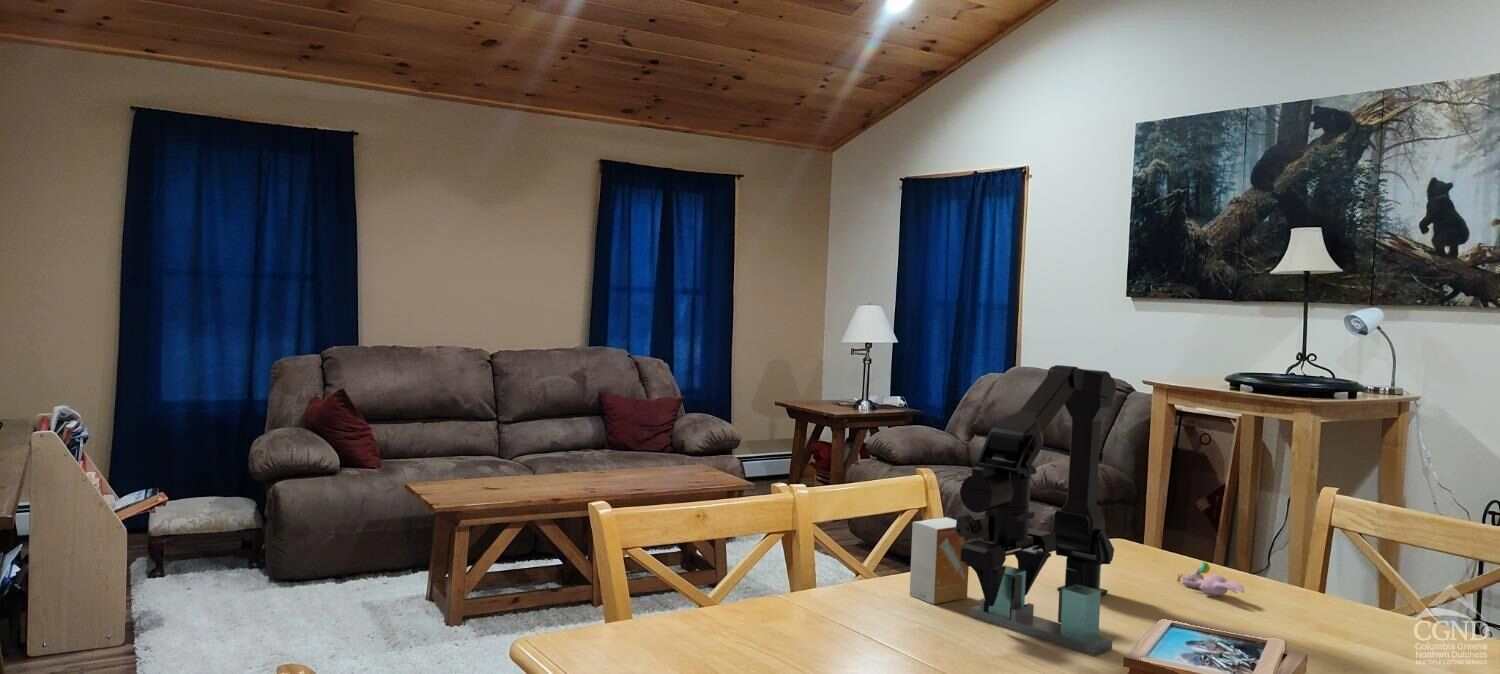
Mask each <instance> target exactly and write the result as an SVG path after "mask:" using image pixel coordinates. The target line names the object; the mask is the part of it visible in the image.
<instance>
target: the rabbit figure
mask: <svg viewBox="0 0 1500 674" xmlns="http://www.w3.org/2000/svg"><path fill="white" fill-rule="evenodd" d="M1201 563H1202V566H1201V567H1199V568H1198V569H1197V570H1196V571H1195V572H1191V573H1189V572H1188V573H1187V575H1185V574H1182V573H1181V574H1180V575H1179V573H1177V579H1176V583H1177V582H1178V583H1179V582H1182V585H1183V586H1185V588H1192V589H1199V590H1201V591H1202V592H1203V593H1204V594H1207V595H1208V596H1209V597H1217V596H1222V595H1226V593H1228V591H1231V592H1233V593H1235V594H1237V593H1238V591H1239V592H1241V593H1245V587H1244V586H1243V585H1242V584H1241V583H1238V582H1235V581H1229V580H1228V579H1227V578H1225V577H1224V576H1222V575H1219V574H1215V573H1214V574H1210V575H1207V576H1206V577H1204V575H1203V574H1207V573H1209V571H1210V568H1211V567H1210V564H1209V563H1208V562H1206V561H1202V562H1201Z"/></svg>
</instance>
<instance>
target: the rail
mask: <svg viewBox="0 0 1500 674" xmlns="http://www.w3.org/2000/svg"><path fill="white" fill-rule="evenodd" d="M1100 594H1101V590H1097V589H1093V588H1089V587H1085V586H1082V585H1078V584H1076V585H1073V586H1070V587H1066V588H1063V589H1060V590H1059V591H1058V610H1057V611H1058V612H1057V613H1058V614H1057V622H1056V621H1053V620H1050V619H1047V618H1043V617H1040V616H1036V615H1034V607H1035V606H1034V605H1035V604H1033V603H1030V602H1029V603H1026V604H1025V605H1022V606H1019V607H1016V608H1013V609H1012V610H1011V618H1010V619H1009V618H1006V617H1003V616H1000V615H996V614H993V613H990V612H989V606H988V605H987V604H986V601H985V598H980V599H979V604H978V605H976V606H972V607H971V608H970V617H971V618H972V619H975V620H978V621H982V622H985V623H988V624H991V625H994V626H998V627H1001V628H1003V629H1007V630H1010V631H1013V632H1017V633H1019V634H1021V635H1025V636H1029V637H1032V638H1036V639H1039V640H1042V641H1044V642H1047V643H1051V644H1054V645H1058V646H1061V647H1064V648H1067V649H1070V650H1073V651H1076V652H1080V653H1083V654H1087V655H1089V656H1092V657H1096V656H1099V655H1101V654H1103V653H1104V654H1105V653H1106V652H1108V651H1111V650H1113V638H1110V637H1106V636H1104V635H1103V636H1102V635H1099V633H1100V612H1101V610H1100V609H1101V596H1100Z"/></svg>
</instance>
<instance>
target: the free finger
mask: <svg viewBox="0 0 1500 674" xmlns="http://www.w3.org/2000/svg"><path fill="white" fill-rule="evenodd" d="M1003 566H1004V567H1006V569H1005V572H1004V575H1003V579H1002V582H1001V585H1000V588H999V592H998V595H997V598H996V601H995V603H994V606H989V612H990V613H993V614H996V615H1000V616H1003V617H1006V618H1009V619H1010V618H1011V610H1012V609H1013V608H1016V607H1019V606H1022V605H1025V603H1026V601H1025V600H1026V595H1025V582H1026V571H1025V570H1021V569H1018V567H1013V566H1010V565H1006V564H1003Z"/></svg>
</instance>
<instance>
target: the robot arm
mask: <svg viewBox="0 0 1500 674" xmlns="http://www.w3.org/2000/svg"><path fill="white" fill-rule="evenodd" d="M1116 390H1117V384H1116V380H1115V379H1114V378H1112V376H1111V374H1110V372H1109V371H1106V370H1096V369H1085V368H1079V367H1078V366H1072V365H1071V366H1070V365H1061V364H1060V365H1059V364H1057V365H1054V366H1050V367H1049V368H1048V371H1047V376H1046V377H1045V379H1043V381H1042V382H1041V384H1040V385H1039V386H1038V387H1037V389H1036V390H1035V391H1034V392H1033V393H1032V394H1031V396H1030V397H1029V398H1028V399H1027V401H1026V402H1025V403H1024V404H1023V405H1022V407H1021V408H1020V409H1019V410H1018V411H1017V412H1016V413H1014V414H1013V413H1012V414H1010V415H1008V416H1005V417H1003V418H1002V419H1001V420H1000V421H999V422H997V423H996V424H995V425H994V426H993V427H992V428H991V430H990V432H989V433H988V435H987V437H986V439H985V442H984V444H983V447H982V449H981V450H980V453H979V456H978V459H977V461H976V463H975V467H972V469H971V475H970V476H968V477H966V478H965V479H964V480H963V482H962V484H961V486H960V489H959V497H960V500H961V502H962V504H963V506H965V508H966V509H968V510H969V511H970V512H972V513H976V514H980V513H984V517H978V518H975V519H974V517H972V515H971V514H965V515H961V516H958V517H956V520H957V522H956V532H957V534H958V535H959V536H963V539H964V541H969V540H970V542H969V543H965V544H964V545H963V546H962V547H961V548H960V561H963V562H965V564H966V565H967V566H969V567H971V569H972V570H974V572H975V573H976V576H977V578H978V581H979V585H980V586H981V590H982V591H981V592H982V594H983V597H984V598H985V601H986V604H987V605H988V606H994V603H995V601H996V598H997V595H998V592H999V588H1000V585H1001V582H1002V579H1003V575H1004V572H1005V569H1006V567H1004V566H1003V565H1005V564H1004V563H1005V562H1006V560H1007V559H1006V557H1007V555H1008V554H1012V553H1013V555H1014V556H1015V558H1016V560H1017V568H1018V569H1021V570H1025V571H1026V582H1025V596H1027V595H1028V593H1029V592H1030V589H1031V588H1032V586H1033V584H1034V582H1035V581H1036V579H1037V577H1038V575H1039V573H1040V572H1041V570H1042V568H1043V567H1044V566H1045V564H1046V562H1047V561H1048V559H1049V558H1051V556H1052V553H1053V552H1055V555H1056V556H1058V557H1059V556H1061V557H1066V559H1065V560H1066V562H1065V565H1066V566H1065V575H1064V576H1065V578H1064V584H1063V585H1062V586H1059V587H1057V588H1056V590H1057V591H1058V592H1059V590H1060V589H1063V588H1066V587H1070V586H1073V585H1076V584H1078V585H1082V586H1085V587H1089V588H1093V589H1097V590H1101V594H1100V597H1101V596H1103V595H1106V594H1108V593H1109V591H1108V590H1107V589H1105V588H1101V573H1102V571H1101V569H1102V565H1110V564H1111V562H1112V561H1113V558H1114V554H1115V548H1114V546H1113V544H1112V542H1111V540H1110V538H1109V537H1108V535H1107V533H1106V521H1105V517H1104V514H1103V513H1102V510H1101V509H1100V508H1099V505H1098V504H1097V495H1098V479H1099V464H1100V449H1101V448H1100V446H1101V445H1100V444H1101V430H1102V421H1103V419H1104V418H1105V417H1106V415H1107V414H1108V413H1109V412H1110V410H1111V408H1112V406H1113V402H1114V401H1113V400H1114V396H1115V394H1116ZM1064 406H1065V409H1066V410H1067V412H1068V414H1069V416H1070V418H1071V428H1070V429H1071V431H1070V432H1071V433H1070V446H1069V461H1068V464H1069V465H1068V480H1067V496H1066V502H1065V503H1064V504H1063V506H1062V507H1061V508H1060V510H1056V511H1055V513H1054V515H1053V516H1054V524H1053V525H1054V526H1053V531H1052V532H1049V531H1046V530H1045V531H1044V530H1040V529H1035V528H1031V527H1029V522H1030V521H1029V520H1031V519H1035V513H1036V512H1035V511H1034V510H1030V500H1031V497H1030V495H1031V494H1030V493H1031V475H1033V476H1034V475H1036V474H1037V472H1038V471H1037V469H1036V467H1034V466H1033V463H1034V462H1035V460H1036V458H1037V456H1038V455H1039V454H1040V451H1041V449H1042V448H1043V446H1044V437H1043V435H1044V432H1045V430H1046V428H1047V427H1048V426H1049V424H1050V423H1052V421H1053V420H1054V419H1055V417H1056V416H1057V414H1058V413H1059V412H1060V411H1061V410H1062V408H1063V407H1064ZM979 538H981V540H976V539H979ZM973 539H975V540H974V541H971V540H973ZM989 542H990V543H989Z"/></svg>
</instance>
